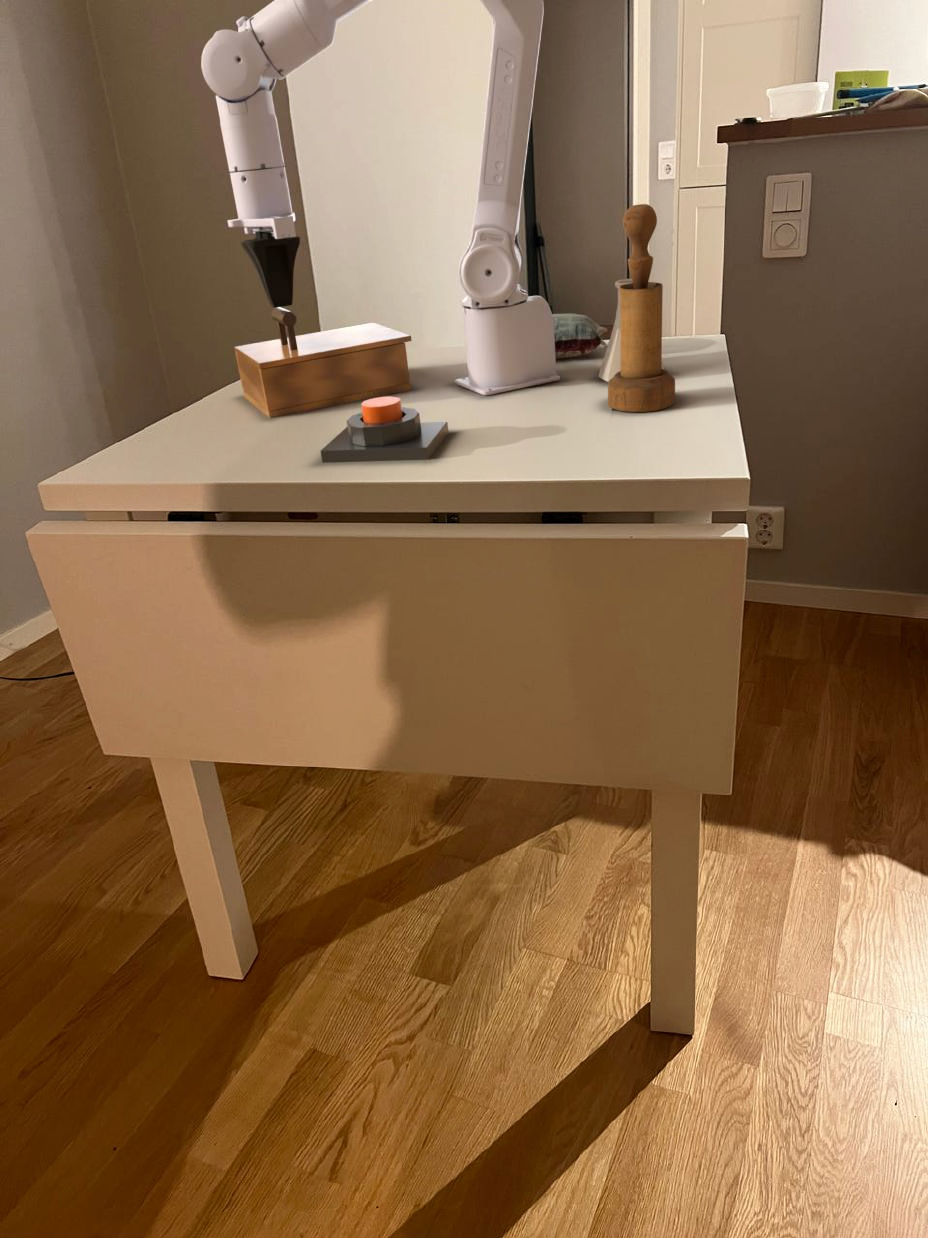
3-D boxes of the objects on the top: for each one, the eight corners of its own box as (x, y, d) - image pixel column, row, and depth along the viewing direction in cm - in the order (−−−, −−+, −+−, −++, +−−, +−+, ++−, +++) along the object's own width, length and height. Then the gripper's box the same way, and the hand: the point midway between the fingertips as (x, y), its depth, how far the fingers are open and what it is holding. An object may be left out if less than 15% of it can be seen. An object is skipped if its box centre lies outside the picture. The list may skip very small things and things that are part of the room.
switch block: (448, 433, 88) (445, 402, 87) (428, 460, 81) (424, 427, 80) (350, 437, 90) (345, 406, 89) (322, 463, 83) (316, 431, 82)
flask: (662, 366, 104) (662, 272, 99) (668, 382, 97) (669, 282, 93) (597, 371, 105) (594, 278, 100) (599, 387, 98) (596, 288, 94)
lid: (374, 327, 114) (368, 287, 111) (411, 340, 103) (406, 297, 101) (234, 351, 108) (226, 310, 106) (260, 368, 97) (251, 323, 95)
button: (407, 414, 86) (404, 395, 85) (396, 425, 83) (394, 406, 82) (370, 415, 86) (367, 397, 86) (358, 426, 83) (355, 407, 83)
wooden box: (374, 372, 116) (368, 328, 113) (411, 389, 105) (405, 342, 103) (244, 397, 110) (235, 352, 108) (269, 418, 100) (260, 369, 97)
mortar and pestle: (675, 411, 87) (676, 204, 79) (606, 414, 89) (600, 211, 80) (675, 393, 93) (676, 198, 85) (610, 396, 94) (605, 204, 86)
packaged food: (514, 350, 119) (512, 311, 116) (607, 344, 117) (607, 304, 114) (507, 367, 111) (504, 325, 109) (607, 361, 109) (606, 318, 107)
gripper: (206, 175, 100) (232, 304, 107) (234, 172, 88) (262, 319, 95) (269, 168, 103) (291, 295, 109) (304, 164, 91) (327, 308, 97)
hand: (281, 305), depth 102 cm, fingers closed
